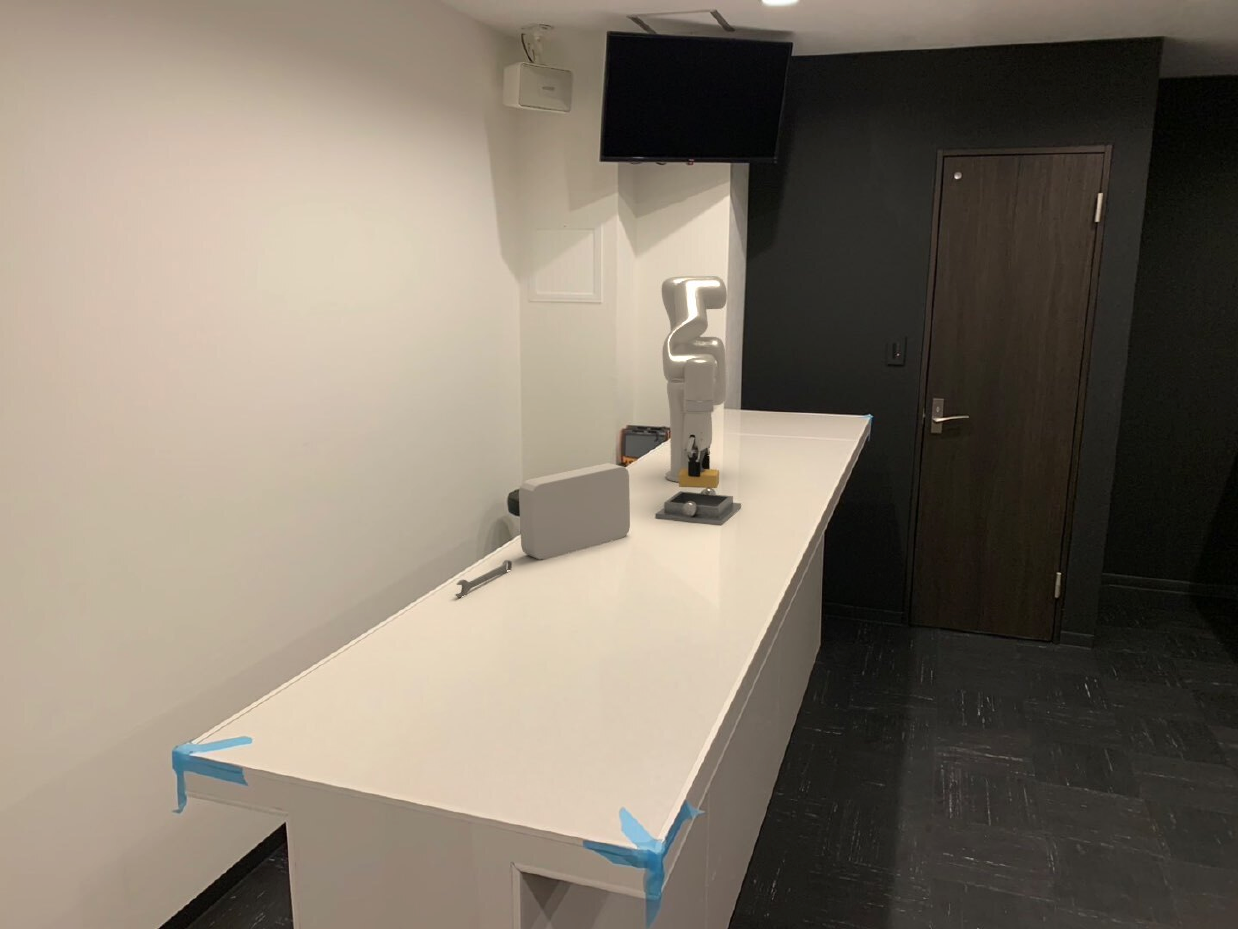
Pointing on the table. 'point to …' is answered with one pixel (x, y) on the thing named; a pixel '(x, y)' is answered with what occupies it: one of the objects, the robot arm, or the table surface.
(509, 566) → the combination wrench
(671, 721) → the table surface
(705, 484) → the rubber stamp
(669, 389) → the robot arm
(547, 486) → the grey control panel
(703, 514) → the grey metal square tray
